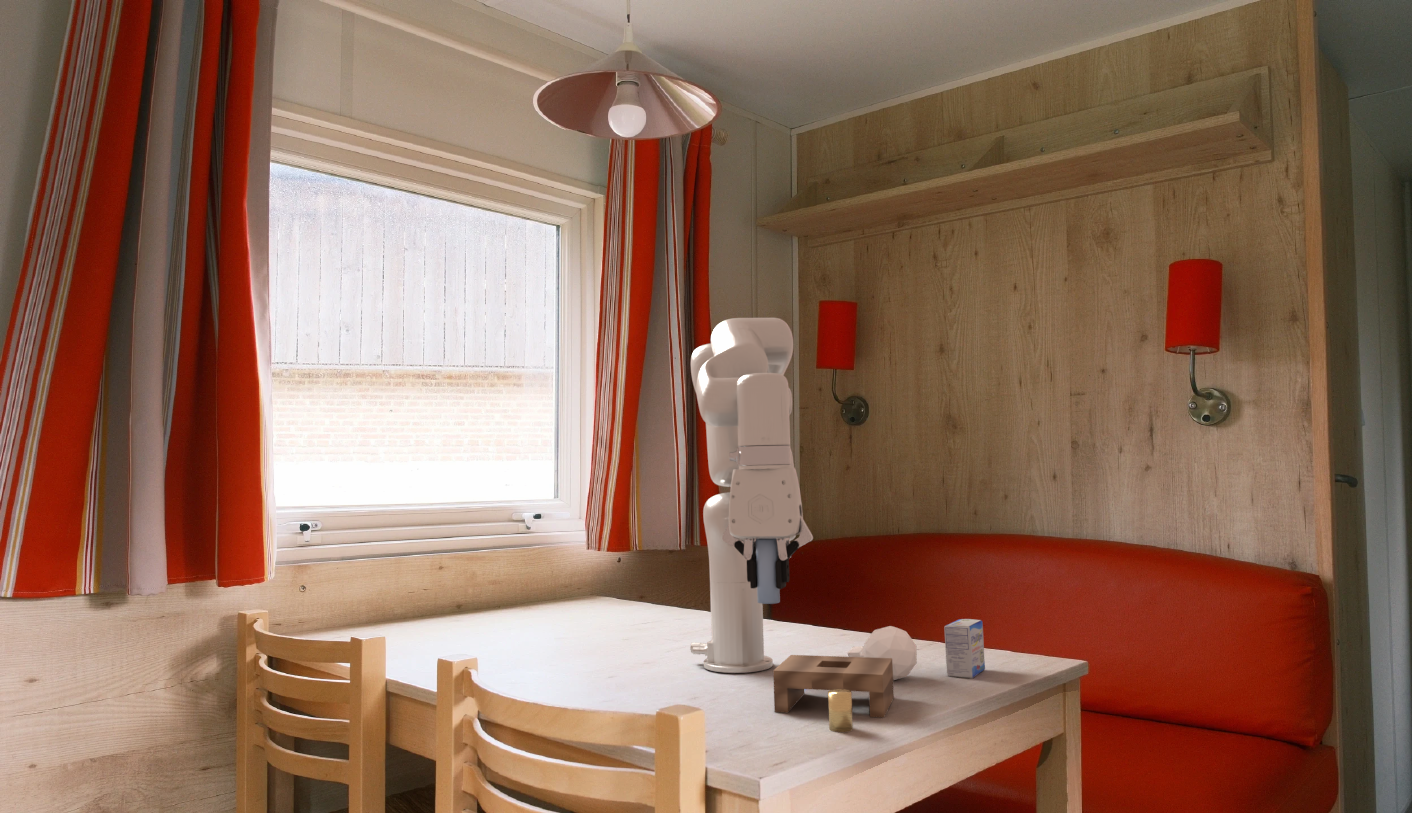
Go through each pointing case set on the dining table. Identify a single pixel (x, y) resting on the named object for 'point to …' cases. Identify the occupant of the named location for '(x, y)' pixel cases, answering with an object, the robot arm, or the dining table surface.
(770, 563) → the long pin
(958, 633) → the medicine box
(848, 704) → the short pin
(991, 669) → the dining table surface
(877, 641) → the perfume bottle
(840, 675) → the hole board
